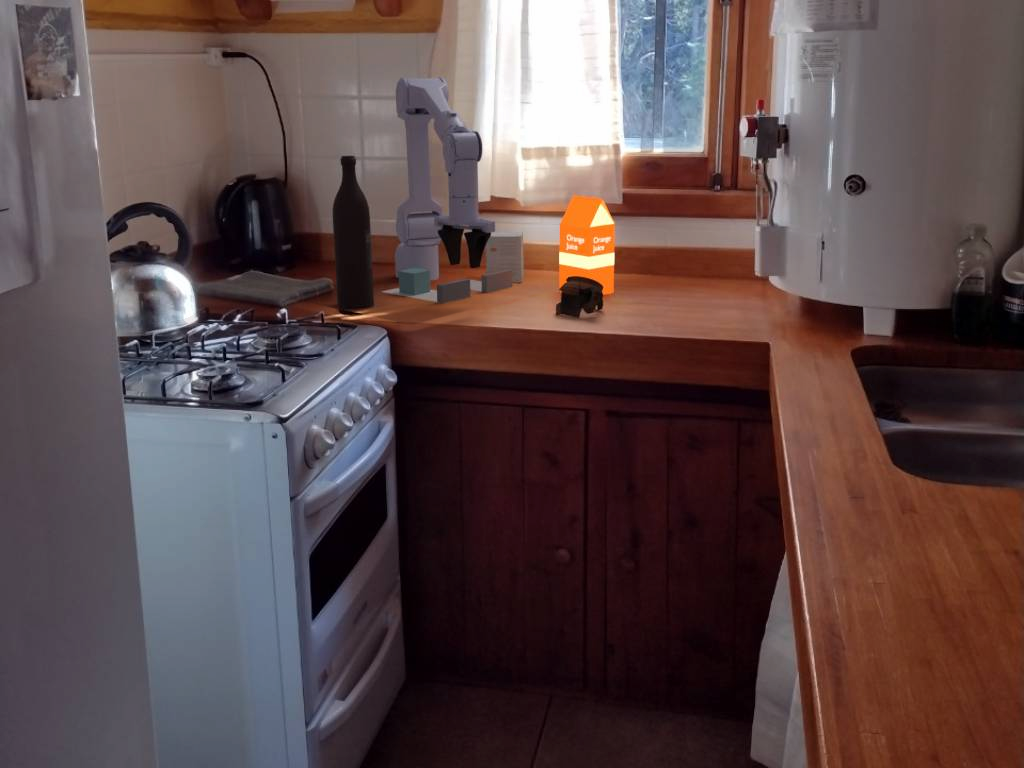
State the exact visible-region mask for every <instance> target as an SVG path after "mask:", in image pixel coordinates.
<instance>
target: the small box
mask: <svg viewBox="0 0 1024 768" xmlns="http://www.w3.org/2000/svg"><path fill="white" fill-rule="evenodd" d="M524 263H525V262H524V233H523V232H521V231H520V232H519V231H518V232H517V231H515V232H513V231H511V232H509V231H508V232H507V231H506V232H505V231H504V232H498V231H495V232H491V236H490V238H489V239H488V241H487V243H486V246H485V268H486V269H485V272H486V273H485V274H488V273H493V272H497V271H502V270H506V269H508V270H512V283H513V284H514V283H517V284H522V282H523V280H524V277H525V275H524V274H525V269H524V267H525V266H524Z"/></svg>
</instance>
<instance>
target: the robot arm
mask: <svg viewBox="0 0 1024 768" xmlns="http://www.w3.org/2000/svg"><path fill="white" fill-rule="evenodd" d="M448 101H449V85H448V83H447V81H446V80H445V78H444V77H439V76H438V77H431V78H430V77H427V78H426V77H425V78H424V77H423V78H422V77H420V78H415V77H414V78H411V77H410V78H406V77H401V78H399V79H398V81H397V83H396V87H395V105H396V108H395V109H396V113H397V118H398V119H401V120H403V121H404V126H405V140H406V142H405V143H406V158H407V159H406V161H407V163H406V164H407V180H408V181H407V182H408V183H407V184H408V198H407V199H406V200H404V202H403V203H401V204H400V205H399V206H398V207H397V211H396V221H395V222H396V223H395V230H396V236H397V238H398V240H399V241H400V243H399V244H398V246H397V247H396V250H395V252H394V260H395V261H394V263H395V277H396V278H398V279H399V271H401V270H407V269H412V268H418V269H424V270H430V282H431V281H436V280H439V278H440V276H439V275H440V272H439V271H440V270H439V266H440V265H439V244H441V242H442V243H443V246H444V248H445V251H446V254H447V258H448V261H449V265H450V266H456V265H460V264H461V255H462V253H461V249H462V247H461V246H462V240H463V236H464V238H465V242H466V245H467V250H468V262H469V267H470V269H477V268H480V267H481V263H482V258H483V254H484V250H485V249H486V243H487V241H488V239H489V238H490V236H491V232H496V221H493V220H487V219H484V218H480V215H479V179H478V178H479V177H478V176H479V168H478V167H479V166H478V164H479V162H480V161H481V160H482V157H483V142H482V138H481V137H482V136H481V135H480V133H479V131H478V130H477V131H476V130H469V128H468V126H467V124H466V123H465V122H464V120H463V118H462V116H461V115H460V114H459V113H458V112H457V111H456V110H454V109H453V110H452V109H451V108H450V105H449V104H448ZM432 119H433V130H434V131H435V133H436V135H437V137H438V138H439V141H440V142H441V143H442V155H443V159H444V166H445V167H444V168H445V172H447V184H448V185H447V186H448V187H447V188H448V215H444V209H443V206H442V205H441V204H440V203H438V202H437V201H436V200H434V199H433V198H432V181H431V161H430V158H431V157H430V140H429V138H430V137H429V136H430V135H429V123H430V122H431V120H432ZM465 230H469V231H465ZM464 231H465V232H464Z"/></svg>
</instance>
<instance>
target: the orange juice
mask: <svg viewBox="0 0 1024 768" xmlns="http://www.w3.org/2000/svg"><path fill="white" fill-rule="evenodd" d="M615 225H616V223H615V221H614V219H613V217H612V215H611V213H610V212H609V209H608V207H607V205H606V203H605V201H604V199H603V198H599V197H590V196H583V195H582V196H581V195H572V197H571V200H570V201H569V204H568V206H567V209H566V210H565V213H564V215H563V216H562V218H561V221H560V223H559V252H558V253H559V254H558V256H559V257H558V261H559V262H558V265H559V267H558V268H559V270H558V271H559V276H558V277H559V280H558V281H559V282H558V283H559V286H558V287H559V288H558V292H559V293H562V292H561V290H560V291H559V289H560V288H561V286H562V285H564V283H566V282H567V281H566V279H567V278H568V277H571V276H581V277H586V278H590V279H593V280H595V281H598V282H599V283H600V284H602V285H603V287H604V288H603V290H602V293H603V296H605V295H610V294H614V290H615V289H614V285H615V283H614V281H615V254H616V253H615V239H616V238H615V236H616V235H615V234H616V233H615V231H616V229H615V227H616V226H615Z"/></svg>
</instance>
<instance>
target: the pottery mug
mask: <svg viewBox="0 0 1024 768" xmlns="http://www.w3.org/2000/svg"><path fill="white" fill-rule="evenodd" d="M566 281H567V282H566V283H564V285H562V286H561V288H560V289H559V288H558V292H559V291H560V290H561V292H560V293H561V294H560V302H558V303H556V305H555V315H556V316H557V315H559V316H560V315H564V316H567V317H573V318H577V319H579V318H581V313H582V310H583V311H584V313H586V315H588V314H593V313H594V312H595V310H596V309H597V311H602V309H603V308H604V295H603V293H602V290H603V288H604V287H603V285H602V284H600V283H599V282H598V281H595V280H593V279H590V278H586V277H581V276H571V277H568V278H567V279H566Z"/></svg>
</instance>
